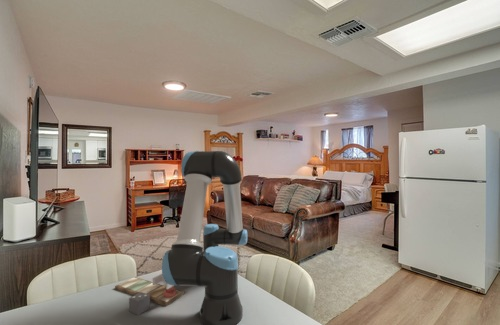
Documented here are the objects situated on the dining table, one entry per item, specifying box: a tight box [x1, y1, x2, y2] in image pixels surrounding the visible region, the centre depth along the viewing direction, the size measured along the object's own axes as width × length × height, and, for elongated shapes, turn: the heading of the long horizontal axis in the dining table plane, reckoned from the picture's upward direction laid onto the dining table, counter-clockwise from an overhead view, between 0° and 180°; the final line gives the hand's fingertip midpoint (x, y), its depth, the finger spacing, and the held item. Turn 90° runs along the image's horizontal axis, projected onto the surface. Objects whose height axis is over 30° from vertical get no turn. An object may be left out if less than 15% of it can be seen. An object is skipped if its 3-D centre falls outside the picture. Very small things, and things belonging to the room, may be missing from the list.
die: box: [128, 292, 151, 316], centre depth 93 cm, size 5×5×5 cm
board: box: [114, 276, 185, 307], centre depth 107 cm, size 30×10×1 cm, turn 63°
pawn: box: [163, 285, 177, 298], centre depth 101 cm, size 5×5×12 cm
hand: (159, 283), depth 97 cm, fingers open, 6 cm apart
